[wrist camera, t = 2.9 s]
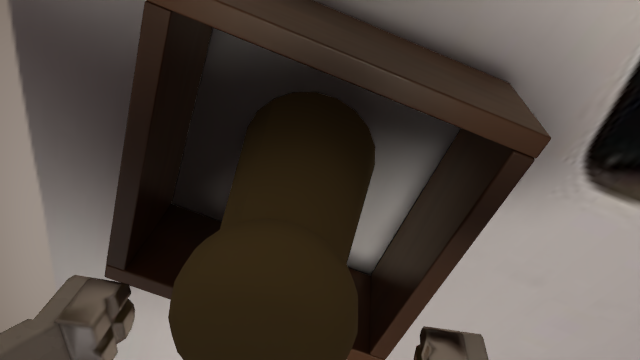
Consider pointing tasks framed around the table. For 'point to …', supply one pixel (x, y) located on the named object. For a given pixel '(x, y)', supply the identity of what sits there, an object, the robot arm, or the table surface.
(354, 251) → the table surface
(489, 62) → the table surface
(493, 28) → the table surface
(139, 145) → the box
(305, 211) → the cork
